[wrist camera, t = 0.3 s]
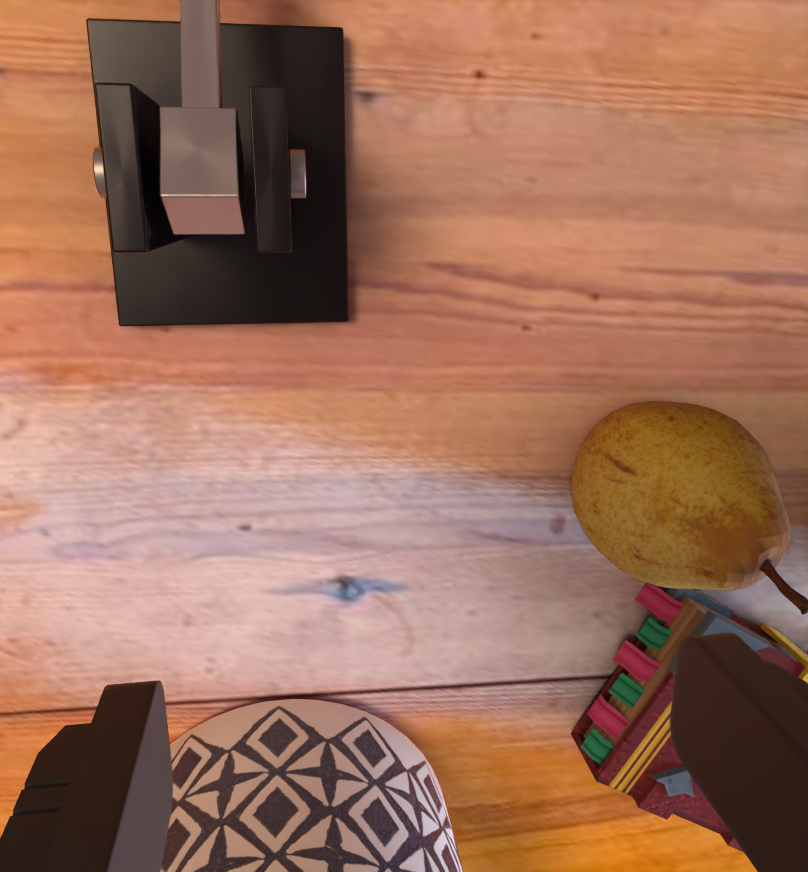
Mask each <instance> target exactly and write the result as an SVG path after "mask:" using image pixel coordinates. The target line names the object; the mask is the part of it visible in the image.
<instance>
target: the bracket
mask: <svg viewBox="0 0 808 872" xmlns="http://www.w3.org/2000/svg"><path fill="white" fill-rule="evenodd" d="M86 23H87V32H88V42H89V51H90V60H91V70H92V79H93V88H94V97H95V107H96V116H97V125H98V135H99V144H100V147H96V148H95V149H94V153H93V171H94V178H95V183H96V187H97V190H98V193H99V195H100V196H101V197H103V198H105V200H106V209H107V218H108V227H109V237H110V246H111V255H112V265H113V274H114V283H115V292H116V302H117V311H118V320H119V325H120V326H165V325H215V324H266V323H317V322H348V320H349V308H348V254H347V201H346V148H345V94H344V41H343V28H341V27H316V26H288V25H260V24H232V23H220V36H221V74H222V108H235V109H237V112H238V120H239V127H240V135H241V142H242V150H243V167H244V199H245V231H246V232H245V234H173V232H172V229H171V226H170V223H169V221H168V218H167V215H166V212H165V210H164V207H163V204H162V201H161V198H160V196H159V107H182V79H181V22H176V21H148V20H120V19H92V18H88V19H87V20H86Z"/></svg>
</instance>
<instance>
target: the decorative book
mask: <svg viewBox="0 0 808 872" xmlns="http://www.w3.org/2000/svg"><path fill="white" fill-rule="evenodd" d="M635 601H637V602H638V603H640V604H641V605H643V606H644V607H645V608H647V609H648V610H649V611H651V612H652V613H651V615H650V616H649V618H648V619H647V620H646V622H645V623H644V625H643V626H642V628H641V629H640V630H639V632H638V635H637V636H636V637H637V638H639V639H638V640H637V642H636V643H635V644H634V645H632V644H631V643H630V642H628V641H627V640H626V641H625V642H624V644H623V645H622V647H621V648H620V649H619V651H618V652H617V654H616V655H615V656H614V658H613V660H614V661H616V662H617V663H618V664H620V665H619V667H618V668H617V670H616V671H615V673H614V674H613V675H612V677H611V678H610V680H609V681H608V682H607V684H606V685H605V687H604V688H603V689H602V691H601V692H600V694H599V695H598V696H597V698H596V699H595V701H594V702H593V703H592V705H591V706H590V708H589V709H588V710H587V712H586V713H585V715H584V716H583V717H582V719H581V720H580V722H579V723H578V724H577V726H576V727H575V729H574V730H573V731H572V733H571V735H572V737H573V739H574V741H575V742H576V744H577V746H578V748H579V750H580V752H581V754H582V755H583V757H584V759H585V761H586V763H587V765H588V767H589V768H590V770H591V772H592V774H593V776H594V778H595V780H596V781H597V782H600V783H602V784H604V785H607V786H609V787H611V788H614V789H616V790H618V791H621V792H623V793H625V794H628V795H630V796H632V797H633V799H634V800H635V802H636V804H637V805H638V807H639V808H641V809H643V810H646V811H648V812H650V813H653V814H655V815H657V816H660V817H662V818H665V819H667V820H668V818H669V817H670V816H671V814H675V815H677V816H679V817H682V818H684V819H686V820H689V821H691V822H693V823H696V824H698V825H700V826H703V827H705V828H707V829H710V830H712V831H714V832H717V833H719V834H720V835H721V836H722V837H723V839H724V840H725V842H726V843H727V845H728V846H731V847H733V848H735V849H738V850H740V851H743V850H742V848H741V847H740V845H739V844H738V842H737V841H736V840H735V838H734V837H733V835H732V834H731V832H730V831H729V830H728V828H727V827H726V825H725V824H724V822H723V821H722V819H721V818H720V817H719V815H718V814H717V812H716V811H715V809H714V808H713V807H712V805H711V804H710V802H709V801H708V799H707V798H706V796H705V795H704V794H703V792H702V791H701V789H700V788H699V786H698V785H697V784H696V782H695V781H694V779H693V778H692V776H691V775H690V773H689V772H688V771H687V769H686V768H685V766H684V765H683V763H682V762H681V760H680V759H679V757H678V755H677V753H676V750H675V747H674V744H673V741H672V737H671V731H670V713H671V706H672V698H673V690H674V682H675V674H676V667H677V659H678V651H679V646H680V643H681V642H682V640H683V639H684V638H685V637H688V636H699V635H711V634H722V633H734V634H736V635H738V636H739V637H740V638H741V639H742V640H743V641H744V642H745V643H746V644H747V645H748V646H749V647H750V648H751V649H752V650H754V651H755V652H756V653H757V654H758V655H759V656H760V657H761V658H762V659H763V660H764V661H765V662H772V663H774V664H776V665H778V666H780V667H781V668H783V669H785V670H787V671H788V672H790V673H792V674H794V675H796V676H797V677H799V678H801V679H803V680H804V681H805V682H807V683H808V653H806V652H804V651H802V650H801V649H800V648H799V647H798V646H796V645H795V644H794V643H793V642H792V641H791V640H789V639H788V638H787V637H786V636H785V635H784V634H783V633H781V632H779V631H777V630H775V629H774V628H772V627H770V626H768V625H766V624H764V623H762V624H761V626H760V627H758V626H756V625H754V624H752V623H750V622H748V621H746V620H745V619H743V618H741V617H739V616H737V615H735V614H733V611H731V610H730V609H729V608H728V607H727V606H725V605H723V604H721V603H720V602H718V601H716V600H714V599H712V598H711V597H709V596H707V595H705V594H703V593H702V592H700V591H698V590H696V589H676V588H669V589H668V590H667V592H666V593H665V592H664V591H663V590H661V589H660V588H658V587H657V586H655V585H654V584H651V583H646V584H645V586H644V587H643V588H642V590H641V591H640V593H639V594H638V596H637V597H636V598H635ZM743 852H744V851H743Z"/></svg>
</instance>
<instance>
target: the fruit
mask: <svg viewBox="0 0 808 872" xmlns="http://www.w3.org/2000/svg"><path fill="white" fill-rule="evenodd" d="M571 495H572V501H573V507H574V512H575V514H576V516H577V519H578V521H579V523H580V525H581V527H582V529H583V531H584V533H585V534H586V536H587V537H588V538H589V539H590V541H591V542H592V543H593V545H594V546H595V547H596V548H597V550H598V551H599V552H600V553H601V554H603V555H604V556H605V557H606V558H607V559H608V560H609V561H610V562H611V563H613V564H614V565H615V566H616V567H618V568H619V569H621V570H623V571H624V572H626V573H628V574H630V575H632V576H634V577H636V578H637V579H639V580H641V581H644V582H647V583H651V584H654V585H657V586H662V587H667V588H676V589H704V590H729V591H730V590H736V589H742V588H745V587H747V586H750V585H752V584H754V583H756V582H757V581H759V580H760V579H762V578H763V577H764V576H765V575H767V576H768V577H769V578H770V579H771V580H772V581H773V582H774V583H775V585H776V586H777V588H778V589H779V591H780V592H781V593H782V594H783V595H784V596H785V597H786V598H788V599H789V600H790V601H791V602H792V603H793V604H794V605H796V606H797V607H798V608H799V609H800V610H801V613H802V614H806V613H807V612H808V600H807V599H806V598H805V597H804V596H803V595H801V594H799V593H798V592H797V591H795V590H794V589H792V588H791V587H790V586H789V585H788V584H787V583H786V582H785V581H784V580H783V579H782V578H781V577H780V576H779V574H778V573H777V572H776V570H775V569H774V568H775V567H776V566H777V564H778V563H779V561H780V560H781V558H782V557H783V555H784V553H785V551H786V550H787V548H788V545H789V541H790V537H791V531H790V524H789V519H788V515H787V513H786V510H785V507H784V504H783V502H782V499H781V495H780V491H779V487H778V483H777V479H776V476H775V473H774V470H773V467H772V465H771V463H770V461H769V459H768V457H767V455H766V453H765V451H764V450H763V448H762V447H761V446H760V444H759V443H758V442H757V440H756V439H755V438H754V437H753V436H752V435H751V434H750V433H749V432H748V431H747V430H746V429H745V428H744V427H743V426H742V425H741V424H740V423H739V422H737V421H736V420H734V419H732V418H730V417H728V416H726V415H724V414H722V413H720V412H717V411H715V410H712V409H709V408H705V407H702V406H698V405H693V404H686V403H676V402H647V403H638V404H631V405H628V406H626V407H624V408H621V409H619V410H617V411H614V412H612V413H610V414H609V415H608V416H607V417H606V418H605V419H603V420H602V421H601V422H600V423H599V424H598V425H597V426H596V427H595V428H594V429H593V430H592V432H591V433H590V434H589V436H588V437H587V439H586V440H585V442H584V444H583V445H582V447H581V450H580V452H579V454H578V456H577V459H576V461H575V465H574V469H573V473H572V483H571Z"/></svg>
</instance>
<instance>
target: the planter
mask: <svg viewBox="0 0 808 872" xmlns="http://www.w3.org/2000/svg"><path fill="white" fill-rule="evenodd" d="M170 751H171V760H172V771H173V797H172V809H171V816H170V822H169V827H168V832H167V838H166V843H165V849H164V854H163V859H162V865H161V870H160V872H463V868H462V864H461V861H460V857H459V853H458V849H457V846H456V842H455V838H454V835H453V831H452V827H451V823H450V820H449V816H448V812H447V809H446V805H445V802H444V798H443V795H442V791H441V788H440V785H439V783H438V780H437V778H436V776H435V773H434V771H433V769H432V767H431V766H430V764H429V763H428V761H427V760H426V758H425V757H424V755H423V753H422V752H421V751H420V750H419V749H418V748H417V747H416V746H415V745H414V744H413V743H412V742H411V741H410V740H409V739H408V738H407V736H405V735H404V734H403V733H401V732H400V731H399V730H397V729H396V728H394V727H393V726H392V725H390V724H389V723H388V722H386V721H384V720H382V719H380V718H378V717H376V716H374V715H372V714H370V713H368V712H365V711H362V710H359V709H356V708H353V707H350V706H347V705H344V704H339V703H333V702H327V701H321V700H307V699H285V700H276V701H266V702H261V703H256V704H252V705H248V706H244V707H240V708H236V709H233V710H231V711H228V712H226V713H223V714H220V715H218V716H215V717H213V718H210V719H209V720H207V721H205V722H203V723H201V724H199V725H198V726H196V727H194V728H192V729H190V730H189V731H187V732H186V733H184V734H183V735H182V736H180V737H179V738H178V739H176V740H175V741H174V742H172V743H171V744H170Z"/></svg>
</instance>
